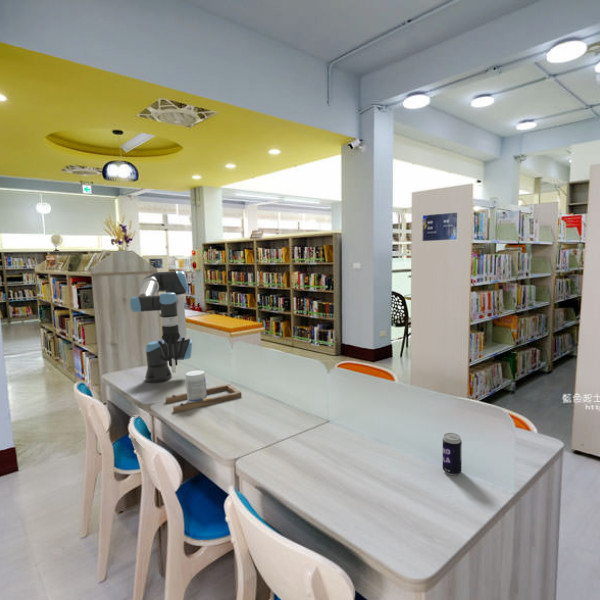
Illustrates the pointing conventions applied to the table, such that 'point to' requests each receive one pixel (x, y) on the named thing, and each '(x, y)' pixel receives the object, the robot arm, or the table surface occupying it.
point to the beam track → (205, 401)
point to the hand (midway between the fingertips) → (173, 372)
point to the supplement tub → (196, 386)
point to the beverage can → (452, 453)
